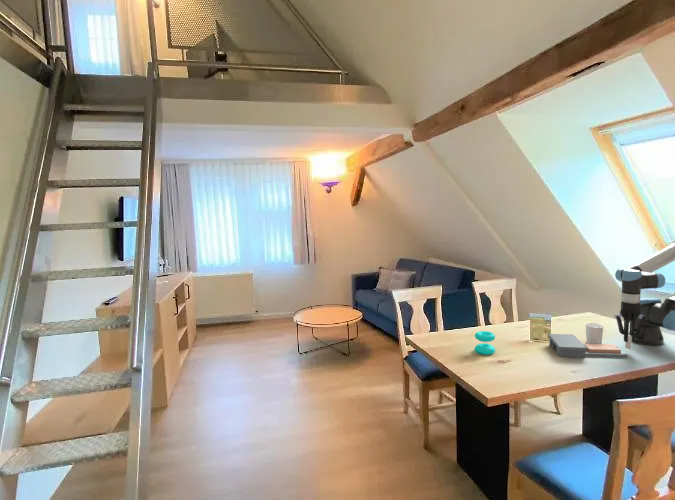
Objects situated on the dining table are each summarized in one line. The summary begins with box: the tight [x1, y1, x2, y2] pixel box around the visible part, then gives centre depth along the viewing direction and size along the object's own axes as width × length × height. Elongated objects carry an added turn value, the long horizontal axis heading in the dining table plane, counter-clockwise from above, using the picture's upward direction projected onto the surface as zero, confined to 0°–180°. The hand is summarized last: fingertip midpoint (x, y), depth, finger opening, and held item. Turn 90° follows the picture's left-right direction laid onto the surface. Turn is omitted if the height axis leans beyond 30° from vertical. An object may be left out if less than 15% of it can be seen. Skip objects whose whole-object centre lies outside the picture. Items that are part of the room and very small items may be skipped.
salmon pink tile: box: [582, 342, 622, 354], centre depth 206 cm, size 14×8×3 cm, turn 77°
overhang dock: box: [548, 333, 629, 359], centre depth 207 cm, size 31×20×6 cm, turn 77°
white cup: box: [585, 322, 604, 344], centre depth 218 cm, size 8×8×10 cm
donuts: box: [474, 330, 496, 356], centre depth 214 cm, size 10×10×10 cm
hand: (628, 348), depth 203 cm, fingers closed
